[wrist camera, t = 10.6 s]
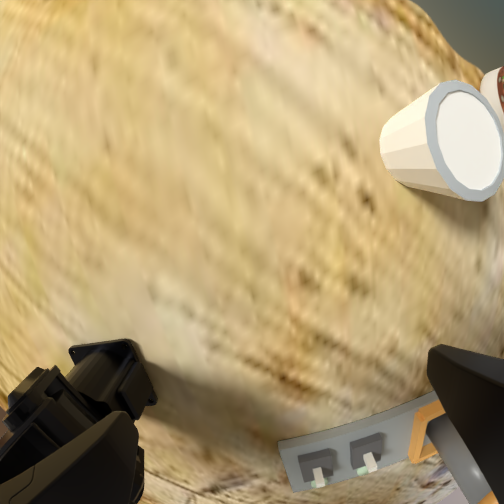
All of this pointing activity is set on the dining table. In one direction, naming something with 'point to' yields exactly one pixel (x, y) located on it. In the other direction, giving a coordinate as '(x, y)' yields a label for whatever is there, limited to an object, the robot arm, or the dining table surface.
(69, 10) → the dining table surface
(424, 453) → the breaker panel
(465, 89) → the white tapered cup
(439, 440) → the grey orange cylinder
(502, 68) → the milk bottle
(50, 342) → the dining table surface
